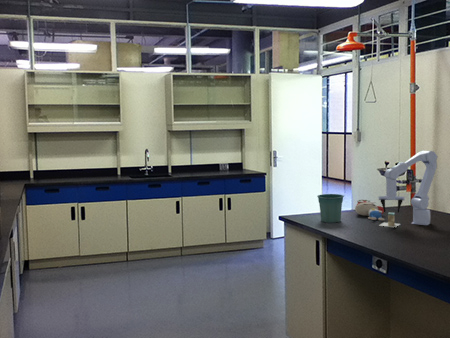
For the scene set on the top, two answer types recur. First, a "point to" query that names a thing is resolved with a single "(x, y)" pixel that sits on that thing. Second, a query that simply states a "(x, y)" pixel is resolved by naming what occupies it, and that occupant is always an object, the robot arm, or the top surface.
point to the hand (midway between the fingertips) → (391, 212)
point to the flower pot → (330, 207)
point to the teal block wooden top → (391, 219)
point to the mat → (389, 226)
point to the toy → (369, 209)
